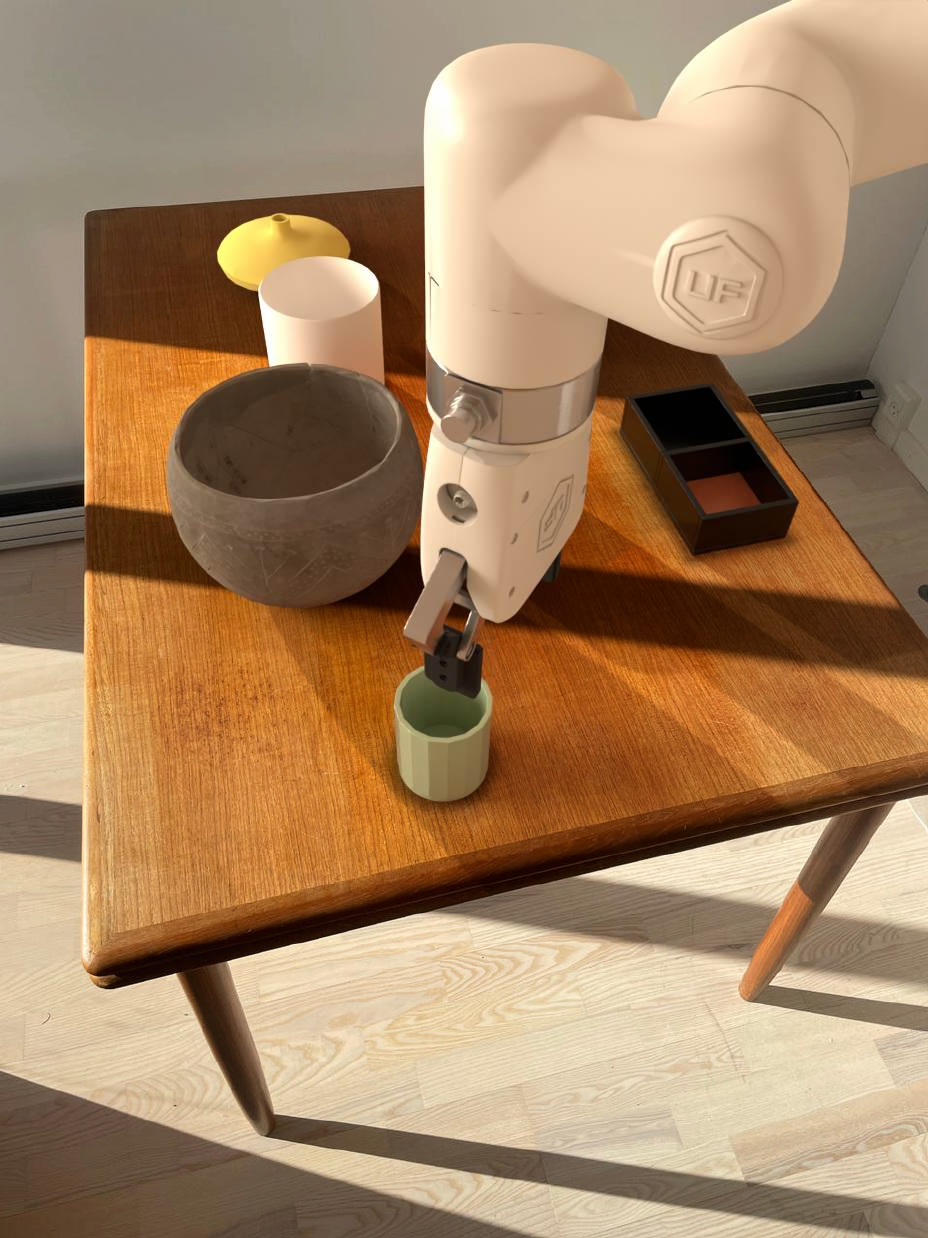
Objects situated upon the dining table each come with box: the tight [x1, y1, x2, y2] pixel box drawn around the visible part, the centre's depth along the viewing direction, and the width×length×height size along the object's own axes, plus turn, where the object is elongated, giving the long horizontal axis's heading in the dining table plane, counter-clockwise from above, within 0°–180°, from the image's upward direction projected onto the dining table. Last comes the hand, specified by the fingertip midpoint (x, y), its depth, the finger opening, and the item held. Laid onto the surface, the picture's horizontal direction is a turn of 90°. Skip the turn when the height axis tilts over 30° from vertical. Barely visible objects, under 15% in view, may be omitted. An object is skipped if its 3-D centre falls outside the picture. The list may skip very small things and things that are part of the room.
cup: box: [258, 256, 386, 387], centre depth 98 cm, size 12×12×12 cm
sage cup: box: [393, 665, 494, 803], centre depth 70 cm, size 7×7×8 cm
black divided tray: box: [619, 381, 800, 557], centre depth 93 cm, size 18×9×5 cm, turn 16°
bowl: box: [166, 363, 425, 609], centre depth 81 cm, size 21×21×15 cm
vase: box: [216, 212, 351, 293], centre depth 115 cm, size 16×16×7 cm
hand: (494, 625), depth 55 cm, fingers open, 9 cm apart
